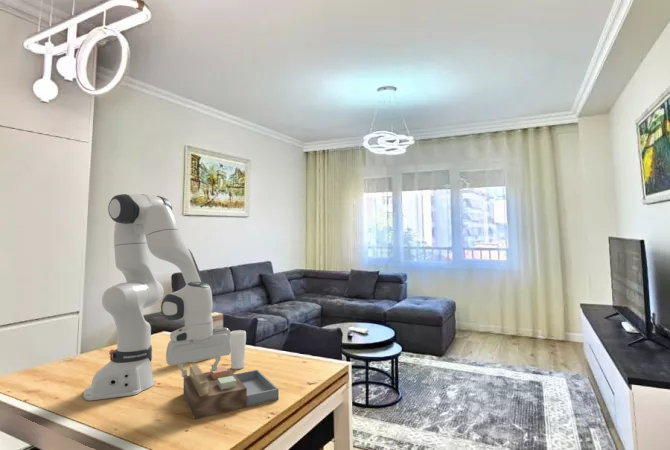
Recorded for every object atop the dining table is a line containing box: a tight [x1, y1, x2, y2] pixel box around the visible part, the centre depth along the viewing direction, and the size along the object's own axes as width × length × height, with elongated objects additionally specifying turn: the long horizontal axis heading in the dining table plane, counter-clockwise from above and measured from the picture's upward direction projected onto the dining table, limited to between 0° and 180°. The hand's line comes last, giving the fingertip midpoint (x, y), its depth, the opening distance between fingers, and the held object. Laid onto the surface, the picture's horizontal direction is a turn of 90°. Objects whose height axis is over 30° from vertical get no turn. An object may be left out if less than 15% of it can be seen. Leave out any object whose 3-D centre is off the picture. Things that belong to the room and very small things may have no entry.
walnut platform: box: [183, 368, 248, 420], centre depth 125 cm, size 16×22×6 cm
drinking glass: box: [229, 329, 247, 370], centre depth 157 cm, size 7×7×15 cm
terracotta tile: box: [209, 366, 228, 379], centre depth 131 cm, size 5×5×2 cm
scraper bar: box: [189, 363, 208, 397], centre depth 123 cm, size 2×20×4 cm, turn 30°
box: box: [234, 369, 280, 408], centre depth 132 cm, size 11×22×4 cm, turn 30°
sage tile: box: [217, 376, 236, 390], centre depth 122 cm, size 5×5×2 cm
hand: (199, 373), depth 122 cm, fingers open, 8 cm apart
